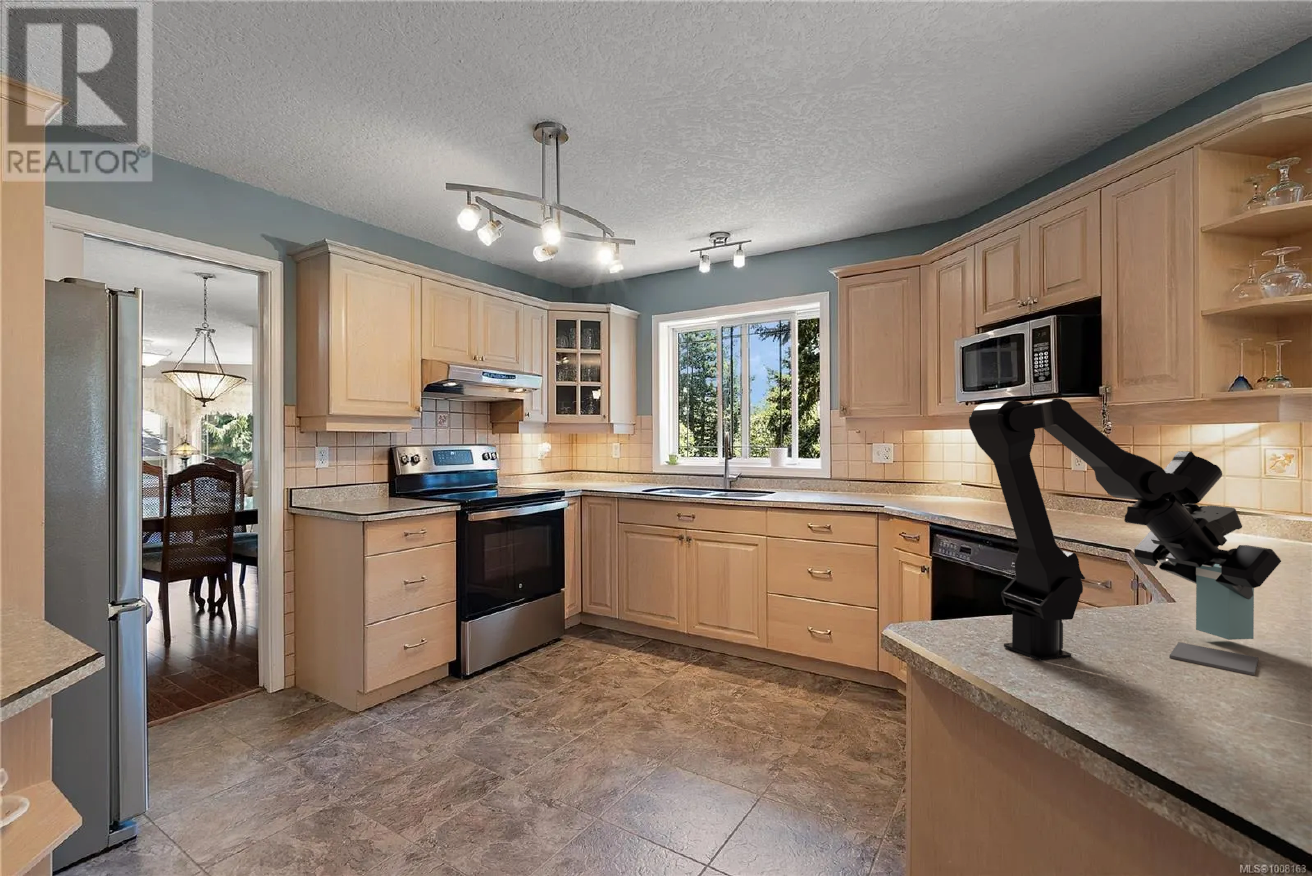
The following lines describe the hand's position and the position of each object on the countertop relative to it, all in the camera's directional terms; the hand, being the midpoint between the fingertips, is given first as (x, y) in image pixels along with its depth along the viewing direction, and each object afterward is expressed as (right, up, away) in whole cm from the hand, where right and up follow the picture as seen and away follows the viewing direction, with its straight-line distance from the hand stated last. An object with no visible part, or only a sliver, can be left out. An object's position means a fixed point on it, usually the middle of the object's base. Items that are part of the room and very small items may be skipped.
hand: (1231, 592), depth 97 cm
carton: (-1, -7, 0) cm, 7 cm away
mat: (-10, -8, -7) cm, 15 cm away
